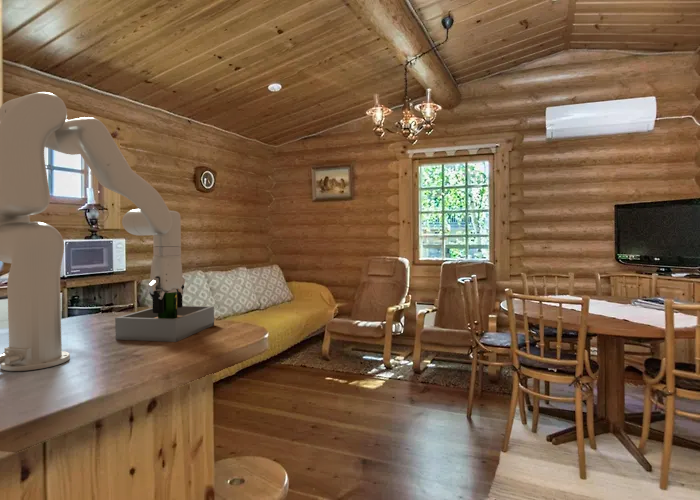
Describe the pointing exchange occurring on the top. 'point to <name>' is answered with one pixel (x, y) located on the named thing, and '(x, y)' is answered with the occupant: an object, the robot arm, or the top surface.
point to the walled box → (164, 324)
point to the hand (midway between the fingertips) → (168, 310)
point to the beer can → (169, 305)
